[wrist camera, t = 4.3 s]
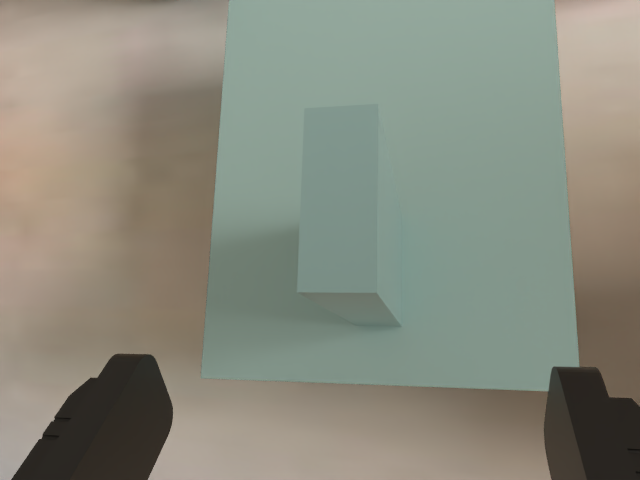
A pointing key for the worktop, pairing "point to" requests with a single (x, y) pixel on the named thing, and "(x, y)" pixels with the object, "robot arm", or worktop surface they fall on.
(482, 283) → the lid
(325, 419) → the worktop surface
